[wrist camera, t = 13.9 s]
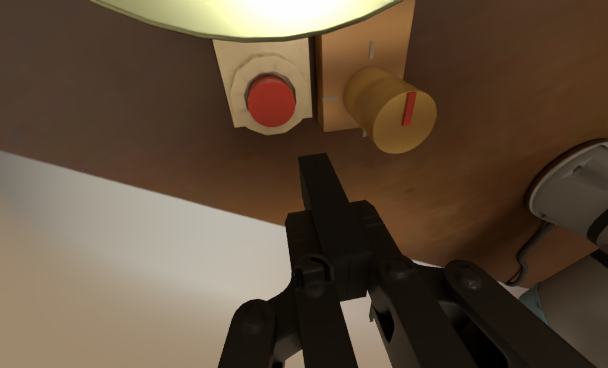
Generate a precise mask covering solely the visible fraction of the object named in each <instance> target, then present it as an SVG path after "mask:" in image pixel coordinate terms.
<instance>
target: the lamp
mask: <svg viewBox="0 0 608 368" xmlns="http://www.w3.org/2000/svg"><path fill="white" fill-rule="evenodd" d="M89 1H91V2H93V3H95V4H97V5H99V6H101V7H104V8H107V9H109V10H112V11H115V12H117V13H120V14H122V15H125V16H128V17H130V18H133V19H136V20H138V21H141V22H143V23H146V24H149V25H151V26H155V27H159V28H163V29H167V30H171V31H175V32H179V33H183V34H187V35H191V36H195V37H198V38H205V39H214V40H223V41H232V42H240V43H258V42H286V41H292V40H297V39H303V38H308V37H314V36H319V35H324V34H327V33H330V32H333V31H336V30H339V29H342V28H345V27H348V26H351V25H354V24H357V23H360V22H363V21H365V20H367V19H369V18H371V17H373V16H375V15H377V14H379V13H381V12H383V11H385V10H387V9H389V8H390V7H392V6H394V5H396V4H398V3H400V2H402V1H404V0H89Z"/></svg>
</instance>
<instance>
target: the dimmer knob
mask: <svg viewBox="0 0 608 368" xmlns="http://www.w3.org/2000/svg"><path fill="white" fill-rule="evenodd" d="M344 105H345V107H346V109H347V111H348V112H349V113H350V115H351V116H352V117H353V118H354V119H355V121H356V122H357V123H358V124H359V125H360V127H361V128H362V129H363V130H364V131H365V133H366V134H367V135H368V136H369V137H370V139H371V140H372V141H373V142H374V143H375V145H376V146H377V147H378V148H379V149H380V150H382V151H384V152H386V153H391V154H399V153H404V152H407V151H409V150H411V149H413V148H415V147H416V146H418V145H419V144H420V143H422V142H423V141H424V140H425V139H426V137H427V136H428V135H429V133H430V132H431V130H432V129H433V126H434V124H435V121H436V115H437V109H436V105H435V102H434V100H433V99H432V98H431V97H430V96H429V95H428V94H427V93H425V92H423V91H421V90H419V89H418V88H416V87H414V86H412V85H411V84H409V83H407V82H405V81H403V80H402V79H400V78H398V77H396V76H394V75H393V74H391V73H389V72H387V71H385V70H384V69H382V68H379V67H367V68H364V69H362V70H360V71H358V72H357V73H356V74H354V75H353V76H352V78H351V79H350V80H349V82H348V83H347V85H346V88H345V91H344Z"/></svg>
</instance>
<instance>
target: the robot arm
mask: <svg viewBox="0 0 608 368" xmlns="http://www.w3.org/2000/svg"><path fill="white" fill-rule="evenodd" d="M298 160H299V170H300V180H301V190H302V198H303V202H304V206H305V211H299V212H293V213H288V216H287V218H286V221H285V226H286V233H287V241H288V248H289V255H290V262H291V270H292V273H291V276H292V277H291V281H290V283H289V285H288V286H287V288H286V289H285V290H284V291H283V292H281V293H280V294H279V295H277V296H275V297H273V298H271V299H270V300H268V301H265V300H261V299H255V300H250V301H247V302H246V303H244V304H242V305H241V306H240V307H239V309H237V310H236V312H235V314H234V316H233V318H232V321H231V324H230V327H229V331H228V335H227V338H226V341H225V344H224V348H223V352H222V355H221V358H220V361H219V365H218V368H284V367H285V360H286V359H288V358H289V357H291V356H292V355H294V354H295V353H297V352H298V351H300V350H301V349H302V350H303V357H304V364H305V368H358V365H357V361H356V358H355V355H354V351H353V347H352V344H351V341H350V337H349V333H348V330H347V326H346V323H345V320H344V316H343V313H342V309H341V306H340V302H341V301H346V300H351V299H356V298H361V297H366V294H367V290H368V293H369V295H370V297H371V300H372V302H371V308H370V314H369V318H370V322H372V321H373V318H374V319H375V322H376V324H377V327H378V330H379V332H380V335H381V338H382V340H383V343H384V346H385V348H386V351H387V354H388V356H389V359H390V362H391V365H392V367H393V368H608V139H599V140H594V141H590V142H588V143H585V144H582V145H580V146H578V147H576V148H574V149H572V150H570V151H568V152H567V153H565V154H564V155H562V156H561V157H559V158H558V159H556V160H555V161H554V162H552V163H551V164H550V165H549V166H548V167H547V168H545V169H544V170H543V171H542V172H541V173H540V174H539V176H538V177H537V178H536V179H535V180H534V182H533V183H532V185H531V186H530V188H529V190H528V192H527V194H526V197H525V205H526V208H527V209H528V210H529V211H530V212H532V213H533V214H534V215H536V216H538V217H539V218H541V219H543V220H545V221H548V223H547V224H546V225H545V226H544V227H543V228H542V229H541V230H540V231H539V232H538V234H537V235H536V236H535V237H534V238H533V239H532V240H531V241H530V242H529V243H528V244H527V245H526V246H525V247H524V248H523V250H522V251H521V253H520V254H519V262H520V264H521V265H522V270H521V272H520V274H519V276H518V278H517V279H516V280H515V281H514V282H507V283H503V282H502V283H503V284H505V285H507V286H511V287H514V286H517V285H519V284H520V283H521V282H522V281H523V279H524V277H525V275H526V273H527V271H528V265H527V263H526V262H525V260H524V259H525V256H526V255H527V253H528V252H529V251H530V249H531V248H532V247H533V246H534V245H535V244H536V243H537V242H538V241H539V240H540V239H541V238H542V237H543V236H544V235H545V234H546V233H547V232H548V231H549V230H550V229H551V228H552V227H553V226H554V225H558V226H560V227H563V228H565V229H568V230H570V231H573V232H575V233H578V234H580V235H582V236H584V237H585V238H587V239H588V240H590V241H591V242H592V243H594V244H595V245H597V246H598V247H599V249H598V250H596V251H594V252H593V253H591V254H589V255H587V256H585V257H584V258H582V259H580V260H578V261H577V262H575V263H573V264H572V265H570V266H568V267H566V268H565V269H563V270H561V271H560V272H558V273H556V274H554V275H553V276H551V277H549V278H547V279H546V280H544V281H542V282H541V281H540V282H538V283H536V285H535V286H534V287H532V288H531V289H529V290H528V291H527V292H525V293H524V294H522V295H521V296H520V297H519V299H516V298H515V297H514V296H513V295H512V294H511V293H510V292H508V291H507V290H506V289H505V288H504V287H503V286H501V285H500V284H499V283H498V282H497V281H496V280H494V279H493V278H492V277H491V276H490V275H489V274H487V273H486V272H485V271H484V270H483V269H481V268H480V267H478V266H477V265H475V264H473V263H471V262H468V261H464V260H454V261H450V262H449V263H448V264H447V265H446V266H445V268H438V267H429V266H422V265H418V264H416V263H414V262H413V261H412V260H411V259H409V258H408V257H406V256H404V255H402V253H401V252H400V250H399V249H398V247H397V245H396V244H395V242H394V240H393V238H392V237H391V235H390V233H389V231H388V230H387V228H386V226H385V224H383V221H382V219H381V218H380V217H379V214H378V212H377V211H376V209H375V207H374V206H373V205H371V204H370V203H369V202H368V201H366V200H362V201H356V202H350V203H349V201H348V199H347V196H346V194H345V192H344V190H343V188H342V186H341V184H340V181H339V179H338V177H337V175H336V173H335V171H334V169H333V166H332V164H331V162H330V160H329V158H328V156H327V154H326V153H321V154H314V155H307V156H300V157H298Z"/></svg>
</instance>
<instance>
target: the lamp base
mask: <svg viewBox="0 0 608 368" xmlns="http://www.w3.org/2000/svg"><path fill="white" fill-rule="evenodd" d="M212 41H213V44H214V48H215V52H216V56H217V60H218V64H219V68H220V72H221V76H222V80H223V84H224V88H225V92H226V96H227V99H228V103H229V107H230V111H231V115H232V119H233V123H234V127H235V128H236V127H244V126H246V127H247V128H249V129H250V130H253V131H256V132H259V133H262V134H265V135H272V134H280V133H285V132H287V131H288V130H290V129H291V128H293V127H294V126H295V125H297V124H298V123H299V122H300V121H301V120H302V119H303V118H310V117H312V102H311V82H310V63H309V44H308V38H303V39H297V40H292V41H286V42H258V43H240V42H232V41H223V40H214V39H212ZM264 75H276V76H279V77H281V78H282V79H284V80H285V81H286V82H287V83H288V85H289V86H290V88H291V90H292V93H293V95H294V98H295V111H294V114H293V115H292V117H291V119H290V120H289V121H288V122H286V123H285V124H283V125H281V126H278V127H266V126H263V125H261V124H259V123H258V122H256V121H255V120H254V119H253V117H252V116H251V114H250V112H249V109H248V92H249V88H250V86H251V85H252V83H253V82H254V81H255V80H256V79H257V78H259V77H261V76H264Z"/></svg>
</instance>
